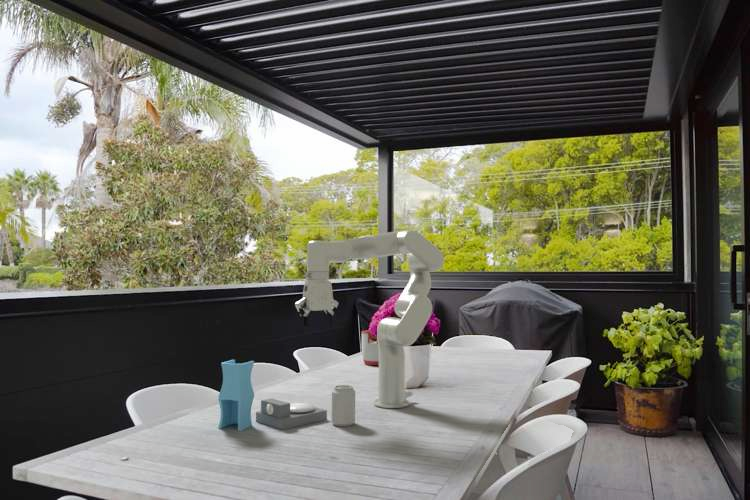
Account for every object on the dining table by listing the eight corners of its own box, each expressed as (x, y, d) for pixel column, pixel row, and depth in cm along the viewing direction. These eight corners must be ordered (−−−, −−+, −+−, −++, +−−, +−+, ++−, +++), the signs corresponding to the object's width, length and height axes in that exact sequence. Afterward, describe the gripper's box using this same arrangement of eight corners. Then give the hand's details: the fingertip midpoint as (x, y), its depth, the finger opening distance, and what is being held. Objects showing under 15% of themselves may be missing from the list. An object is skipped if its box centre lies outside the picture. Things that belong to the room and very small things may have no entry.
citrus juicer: (357, 366, 306) (357, 326, 306) (363, 361, 323) (364, 323, 323) (388, 367, 303) (388, 327, 304) (392, 362, 320) (393, 324, 321)
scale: (300, 412, 208) (300, 391, 208) (326, 419, 198) (327, 398, 198) (255, 421, 195) (256, 399, 195) (282, 429, 185) (282, 406, 186)
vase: (253, 424, 191) (254, 360, 192) (240, 430, 184) (241, 364, 184) (232, 422, 194) (233, 359, 194) (218, 428, 186) (219, 363, 187)
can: (352, 427, 188) (352, 389, 189) (328, 426, 190) (329, 387, 190) (357, 421, 196) (357, 384, 196) (335, 420, 197) (335, 383, 197)
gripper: (302, 277, 198) (301, 329, 197) (344, 277, 209) (343, 327, 209) (290, 276, 204) (289, 327, 203) (331, 277, 215) (330, 325, 214)
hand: (316, 327), depth 206 cm, fingers open, 9 cm apart
